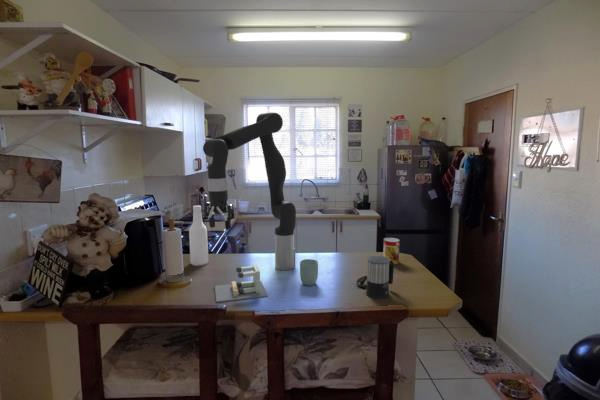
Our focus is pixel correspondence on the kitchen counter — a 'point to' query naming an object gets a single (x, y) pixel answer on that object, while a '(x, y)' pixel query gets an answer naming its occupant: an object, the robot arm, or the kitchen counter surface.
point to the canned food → (391, 249)
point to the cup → (309, 271)
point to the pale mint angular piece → (255, 281)
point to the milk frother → (378, 277)
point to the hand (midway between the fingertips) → (220, 228)
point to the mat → (228, 293)
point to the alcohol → (198, 239)
